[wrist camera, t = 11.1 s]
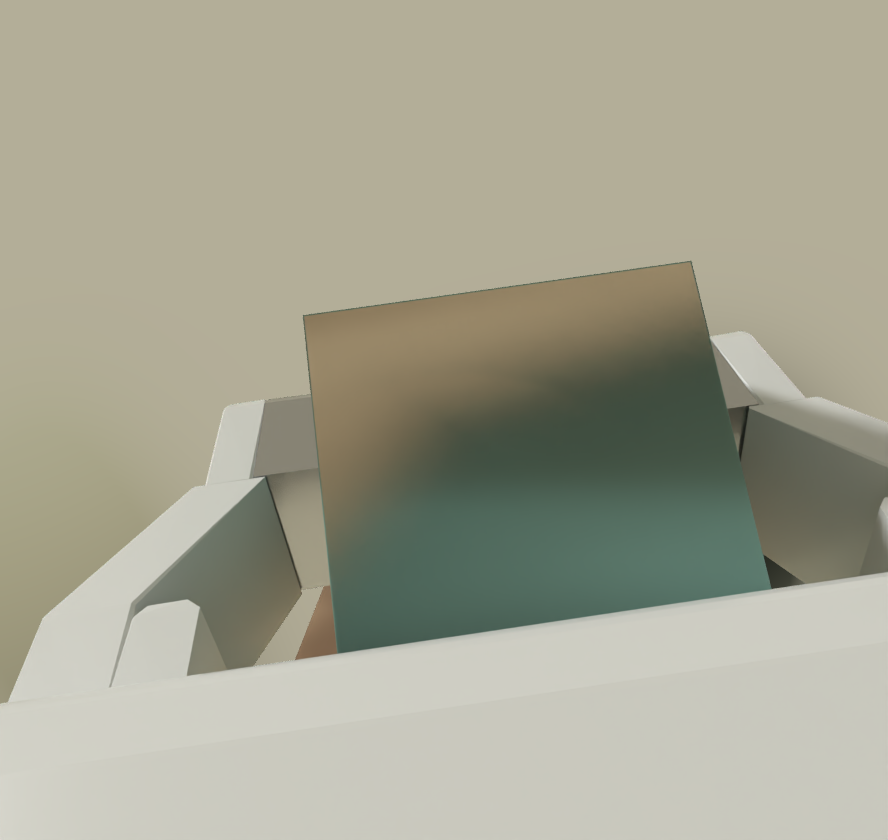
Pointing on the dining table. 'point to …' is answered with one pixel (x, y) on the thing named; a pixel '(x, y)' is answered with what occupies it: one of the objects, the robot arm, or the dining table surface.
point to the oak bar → (525, 458)
